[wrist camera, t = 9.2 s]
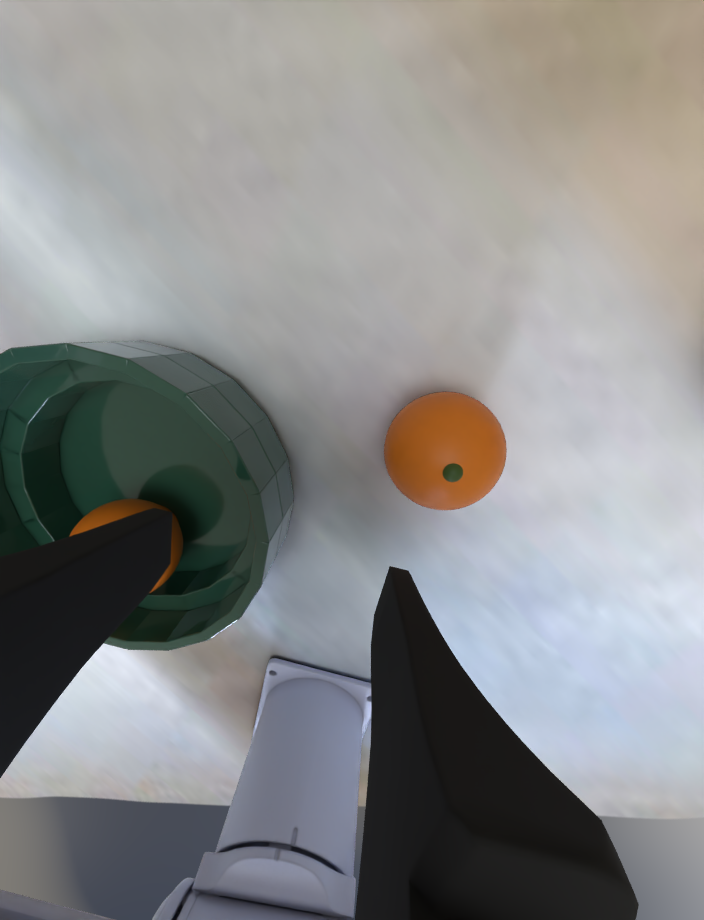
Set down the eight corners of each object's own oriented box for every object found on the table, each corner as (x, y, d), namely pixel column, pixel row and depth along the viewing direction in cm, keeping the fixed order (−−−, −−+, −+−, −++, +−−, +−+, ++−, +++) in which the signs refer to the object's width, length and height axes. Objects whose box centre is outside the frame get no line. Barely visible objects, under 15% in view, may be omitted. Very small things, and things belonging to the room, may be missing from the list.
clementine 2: (466, 492, 19) (496, 551, 14) (373, 467, 19) (368, 517, 14) (503, 398, 17) (553, 426, 12) (400, 372, 17) (406, 389, 12)
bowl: (273, 610, 23) (244, 681, 18) (52, 552, 23) (-34, 607, 18) (319, 383, 18) (294, 401, 13) (30, 309, 18) (-99, 300, 13)
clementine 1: (197, 569, 22) (138, 641, 16) (117, 547, 22) (33, 613, 16) (204, 496, 20) (140, 552, 15) (116, 473, 20) (22, 521, 15)
